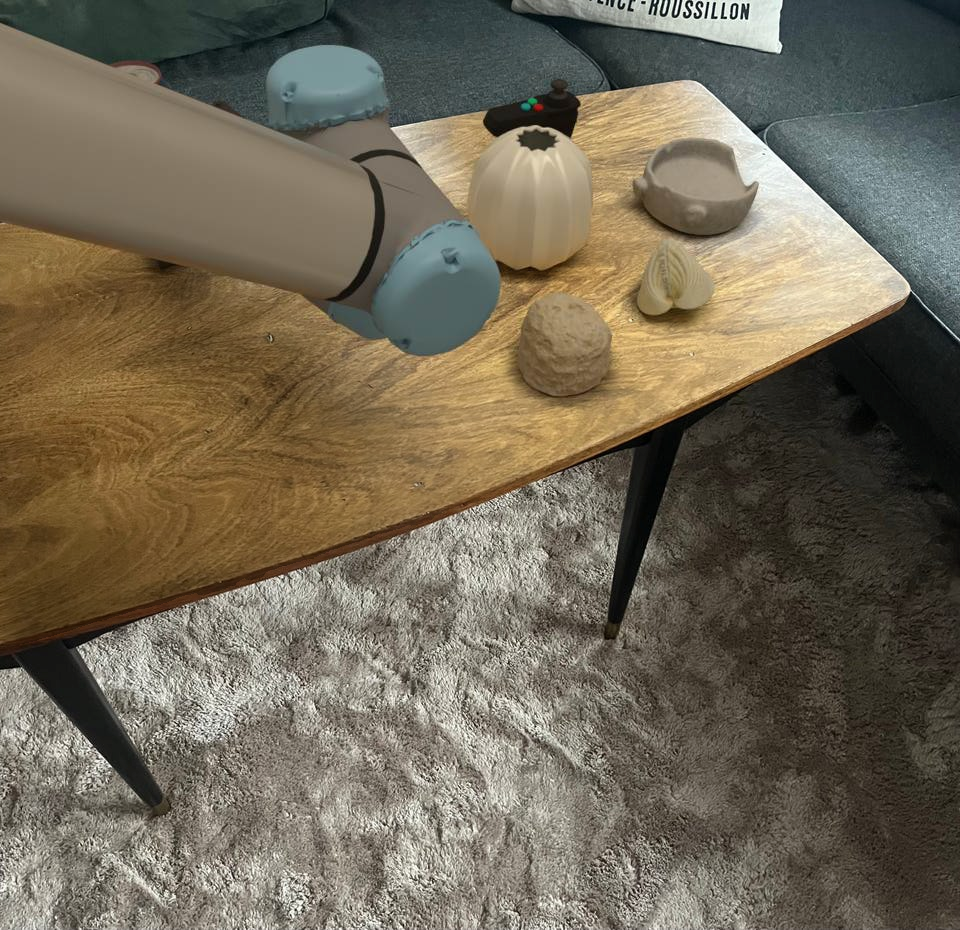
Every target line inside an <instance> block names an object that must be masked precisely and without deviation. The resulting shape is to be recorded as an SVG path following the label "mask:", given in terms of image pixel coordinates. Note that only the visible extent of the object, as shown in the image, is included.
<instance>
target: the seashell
mask: <svg viewBox="0 0 960 930" xmlns="http://www.w3.org/2000/svg"><path fill="white" fill-rule="evenodd" d="M648 258H649V259H648V260H647V263H646V265H645V268H644V269H643V273H642V277H641V282H640V288H639V290H638V293H637V297H636V304H637V307H638V309H639V310H640V312H641V313H644V314H646V315H649V316H660V315H662V314H665V313H667V312H668V311H669V310H671V309H682V310H695V309H698V308H700V307H702V306H704V305H705V304H707V303H708V302H709V301H710V300H711V299H712V297H713V295H714V293H715V281H714V279H713V277H712V275H711V274H710V273H709V272H708V271H707V270H705V268H704V267H703V266H702V265H701V264H700V262H699V260H698V259H697V257H696V256H694V254H692V252H691V251H690V250H688V249H687V248H686V247H685V246H684V245H683V244H681V242H678V241H677V240H676V239H675V238H671V237H665V238H662V240H661V241H660V242H659V243H657V245H656V247H655V249H653V251H652V253H651V254H650V257H648Z"/></svg>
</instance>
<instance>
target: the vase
mask: <svg viewBox="0 0 960 930" xmlns="http://www.w3.org/2000/svg"><path fill="white" fill-rule="evenodd" d="M474 165H475V166H474V168H473V171H472V173H471V178H470V183H469V187H468V193H467V200H466V203H467V204H466V213H467V219H468V220H467V221H468V222H470V223H471V224H472V225H473V227H475V228H476V230H477V231H478V233H479V237H480V240H481V241H482V243H483V244H484V245H485V247H486V248H487V250H488V251H489V253H490V254H491V256H492V257H493V258H494V260H495V262H501V263H502V264H504V265H506V266H507V267H509V268H511V269H513V270H515V271H519V270H522V269H525V268H529V267H531V268H533V269H535V270H538V271H545V270H548V269H549V268H552V267H554V266H556V265H558V264H561V263H564V262H565V261H567V260H569V259H570V258H571V257H573V256H574V255H575V254H576V253H577V252H579V251H580V250H581V249H582V248H583V247H585V246H586V244H587V242H588V239H589V236H590V232H591V226H592V212H593V211H592V210H593V205H594V179H593V178H594V177H593V169H592V165H591V162H590V160H589V157H588V155H587V154H586V153H585V152H584V151H583V150H582V149H581V148H580V147H579V146H578V145H576V143H575V142H574V140H572V138H571V139H570V138H569V137H567V136H566V135H564V134H562V133H561V132H559V131H557V130H555V129H552V128H550V127H547V128H543V127H541V126H538V125H533V126H529V127H520V128H517V129H514V130H511V131H509V132H507V133H505V134H503V135H501V136H499V137H495V138H494V139H493V140H492V141H491V142H490V145H489V147H488V148H486V149H485V150H484V151H483V152H481V154H480V156H479V158H478V160H477V161H476V162H475V164H474Z"/></svg>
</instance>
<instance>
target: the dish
mask: <svg viewBox="0 0 960 930" xmlns="http://www.w3.org/2000/svg"><path fill="white" fill-rule="evenodd" d="M734 151H735V150H734V147H732V146H730V145H729V144H727V143H724V142H722V141H720V140H718V139H715V138H705V137H685V138H675V139H671V140H670V141H668V143H663V144H661V145H659V146H658V147H657V148H655V150H654V151H653V152H652V153H651V154H650V156H649V157H648V159H647V161H646V164H645V166H644V170H643V175H642V178H639V177H636V178H634V179H633V182H632V192H633V194H634V195H635V197H636V198H637V199H641V201H642V204H643V206H644V207H645V210H646V211H647V212H648V213H649V214H650V215H651V216H652V217H653V218H655V219H656V220H658V221H659V222H660V223H662V224H664V225H666V226H668V227H670V228H672V229H675V230H676V231H680V232H683V233H685V234H686V233H687V234H692V235H701V236H704V235H705V236H710V235H717V234H721V233H724V232H728V231H730V230H733V229H734V228H736V227H737V226H738V225H739V224H740V223H741V222H743V220H744V219H745V218H746V217H747V215H748V213H749V211H750V210H751V208H752V206H753V204H754V201H755V199H756V196H757V194H758V189H759V186H760V182H759V181H757V180H755V181H753V182H752V183H751V184H750V185H746V184H745V182H744V180H743V178H742V176H741V173H740V170H739V166H738V164H737V160H736V155H735V152H734Z"/></svg>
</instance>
